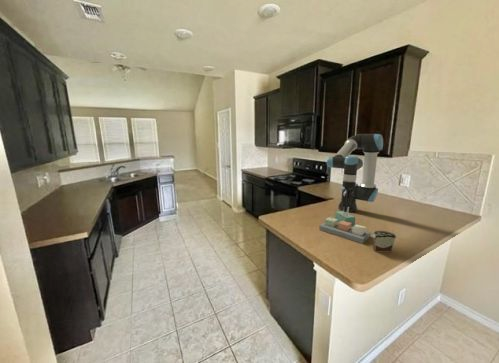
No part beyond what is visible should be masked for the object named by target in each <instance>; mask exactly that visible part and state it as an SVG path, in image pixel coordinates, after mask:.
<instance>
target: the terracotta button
mask: <svg viewBox="0 0 499 363" xmlns="http://www.w3.org/2000/svg"><path fill="white" fill-rule="evenodd" d="M338 229H341V230H344V231H348V230H350V229H351V223H349V222H346V221H341V222H339V223H338Z"/></svg>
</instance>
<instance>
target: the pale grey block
mask: <svg viewBox="0 0 499 363" xmlns="http://www.w3.org/2000/svg"><path fill="white" fill-rule="evenodd" d="M366 229H367V227H366V226H364V225H359V224H356V223H355V225H354V226H353V228H352V233H354V234H357V235H359V236H363V235H364V234H365V231H367V230H366Z"/></svg>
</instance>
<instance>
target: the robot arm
mask: <svg viewBox="0 0 499 363" xmlns="http://www.w3.org/2000/svg"><path fill="white" fill-rule="evenodd" d="M383 147H384V138H383V135H382V134H380V133H359V134H355V135H353V136H351V137H349V138H347V140H345V141H344V145H343V146H341V148H340V149H339V150H338V151H337V153H336V154H334V156H328V157H327V158H326V166H327V167H328V168H332V169H343V174H342V176H343V177H342V188H341V199H340V201H339V204H338V207H337V208H338V210H339V211H343V216H345V217H348V214H350V213H356V212H358V205H357V200H358V201H364V202H367V203H368V202H370V203H373V202H375V200H376V199H377V196H378V193H379V192H378V191H379V189H378V187H377V185H376V184H375V180H376V168H377V159H378V158H377V157H378V154H379V153H380V152H381V151H382V150H383ZM355 150H362V152H363V153H364V159H361V158H359V156H356V155H355V156H354V155H351V154H352V152H353V151H355ZM361 168H362V169H363V170H362V178H361V179H362V182H361V183H360V184H359V185H358V183H357V182H356V181H357V173H358V172H357V171H358V170H361Z"/></svg>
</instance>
